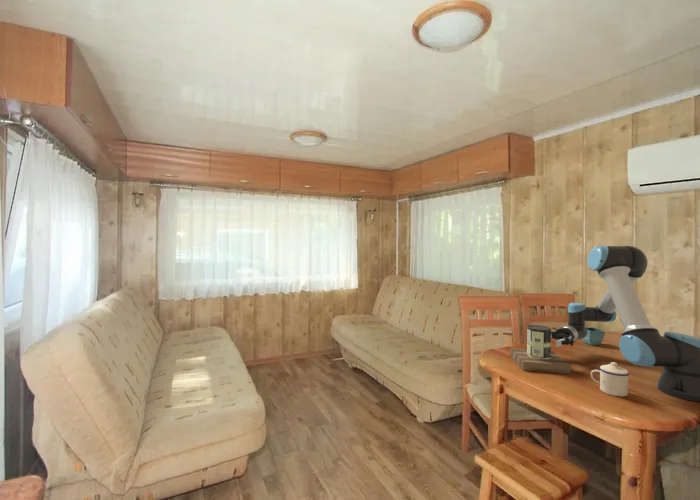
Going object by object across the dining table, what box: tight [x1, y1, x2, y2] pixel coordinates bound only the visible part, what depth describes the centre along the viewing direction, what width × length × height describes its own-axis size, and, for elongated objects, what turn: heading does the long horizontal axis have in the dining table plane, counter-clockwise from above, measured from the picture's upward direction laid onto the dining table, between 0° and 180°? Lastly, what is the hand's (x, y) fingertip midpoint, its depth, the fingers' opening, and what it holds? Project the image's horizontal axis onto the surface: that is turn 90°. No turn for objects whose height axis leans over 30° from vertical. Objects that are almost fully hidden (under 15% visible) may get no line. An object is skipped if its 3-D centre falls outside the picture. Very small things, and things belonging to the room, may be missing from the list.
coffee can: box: [526, 324, 552, 360], centre depth 159 cm, size 10×10×14 cm
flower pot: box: [582, 326, 606, 346], centre depth 193 cm, size 9×9×9 cm
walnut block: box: [510, 348, 572, 375], centre depth 159 cm, size 20×20×4 cm
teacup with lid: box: [590, 361, 630, 398], centre depth 130 cm, size 12×9×12 cm
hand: (542, 339), depth 161 cm, fingers open, 13 cm apart
